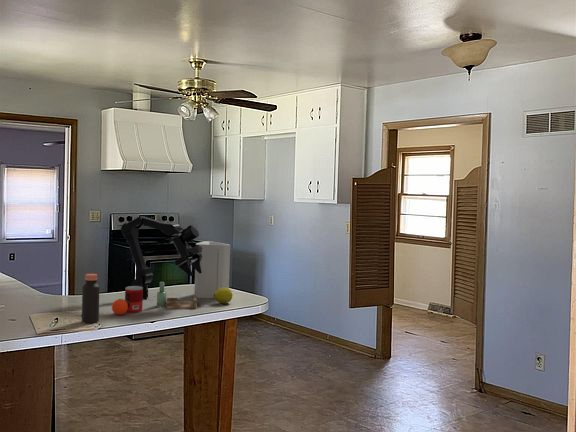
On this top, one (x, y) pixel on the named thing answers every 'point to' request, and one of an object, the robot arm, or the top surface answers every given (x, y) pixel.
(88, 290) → the vinegar
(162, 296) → the bottle
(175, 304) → the cradle
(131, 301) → the canned food
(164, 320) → the top surface
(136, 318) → the top surface
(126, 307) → the clementine
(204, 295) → the paper bag
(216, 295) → the lemon
